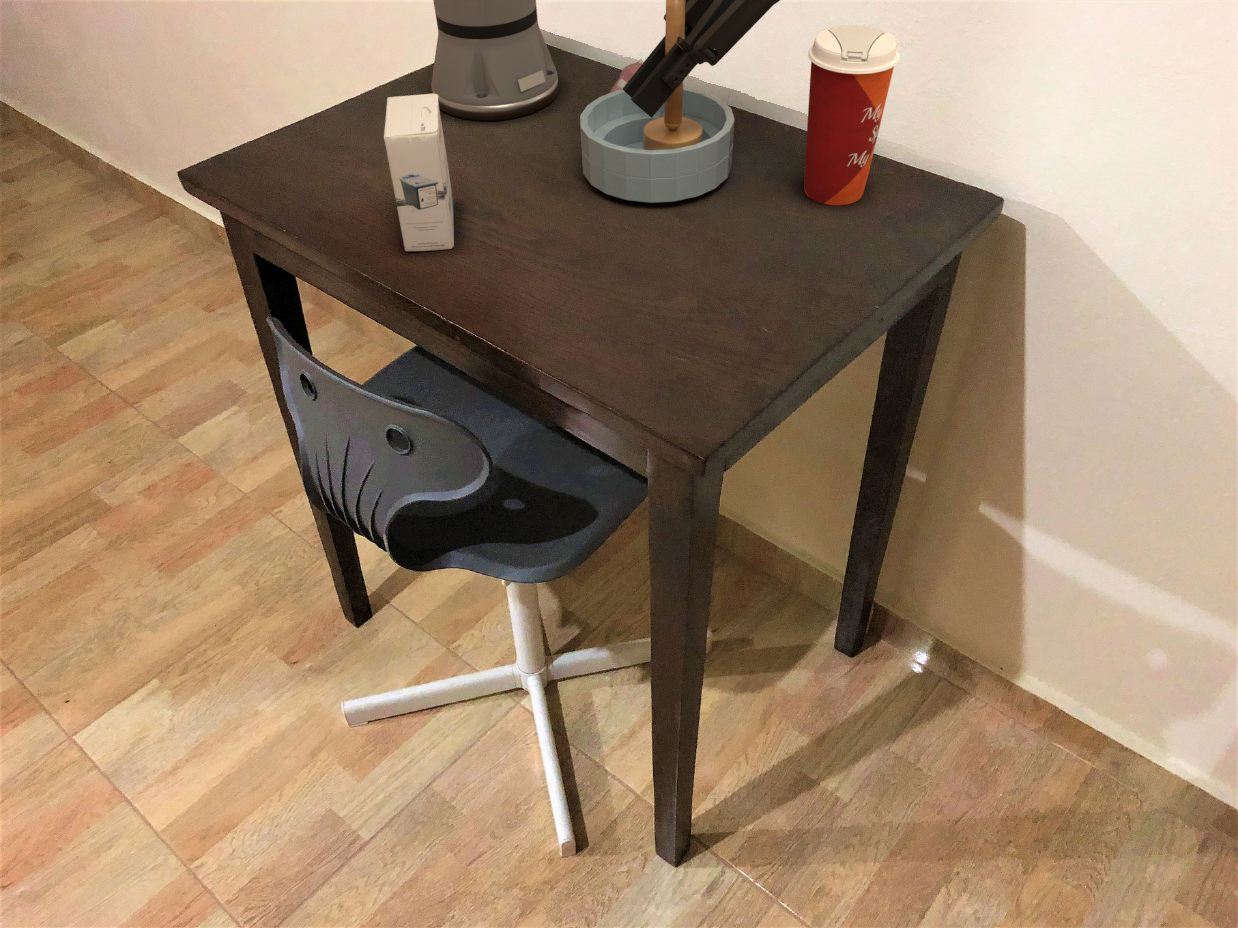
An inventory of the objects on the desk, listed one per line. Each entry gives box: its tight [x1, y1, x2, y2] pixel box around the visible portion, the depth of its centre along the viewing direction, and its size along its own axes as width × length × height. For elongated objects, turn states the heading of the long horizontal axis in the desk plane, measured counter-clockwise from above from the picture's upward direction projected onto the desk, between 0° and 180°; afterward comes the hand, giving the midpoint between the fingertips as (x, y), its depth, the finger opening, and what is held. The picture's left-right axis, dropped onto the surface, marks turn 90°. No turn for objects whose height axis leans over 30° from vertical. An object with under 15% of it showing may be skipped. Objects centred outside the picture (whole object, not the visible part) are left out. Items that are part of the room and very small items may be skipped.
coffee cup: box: [803, 25, 900, 206], centre depth 90 cm, size 8×8×15 cm
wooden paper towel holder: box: [643, 0, 703, 150], centre depth 90 cm, size 6×6×17 cm
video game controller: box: [609, 58, 644, 93], centre depth 107 cm, size 10×5×7 cm, turn 158°
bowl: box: [579, 86, 736, 204], centre depth 97 cm, size 16×16×6 cm
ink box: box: [383, 93, 455, 252], centre depth 88 cm, size 9×5×12 cm, turn 7°
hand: (637, 103), depth 91 cm, fingers closed on wooden paper towel holder, 2 cm apart
